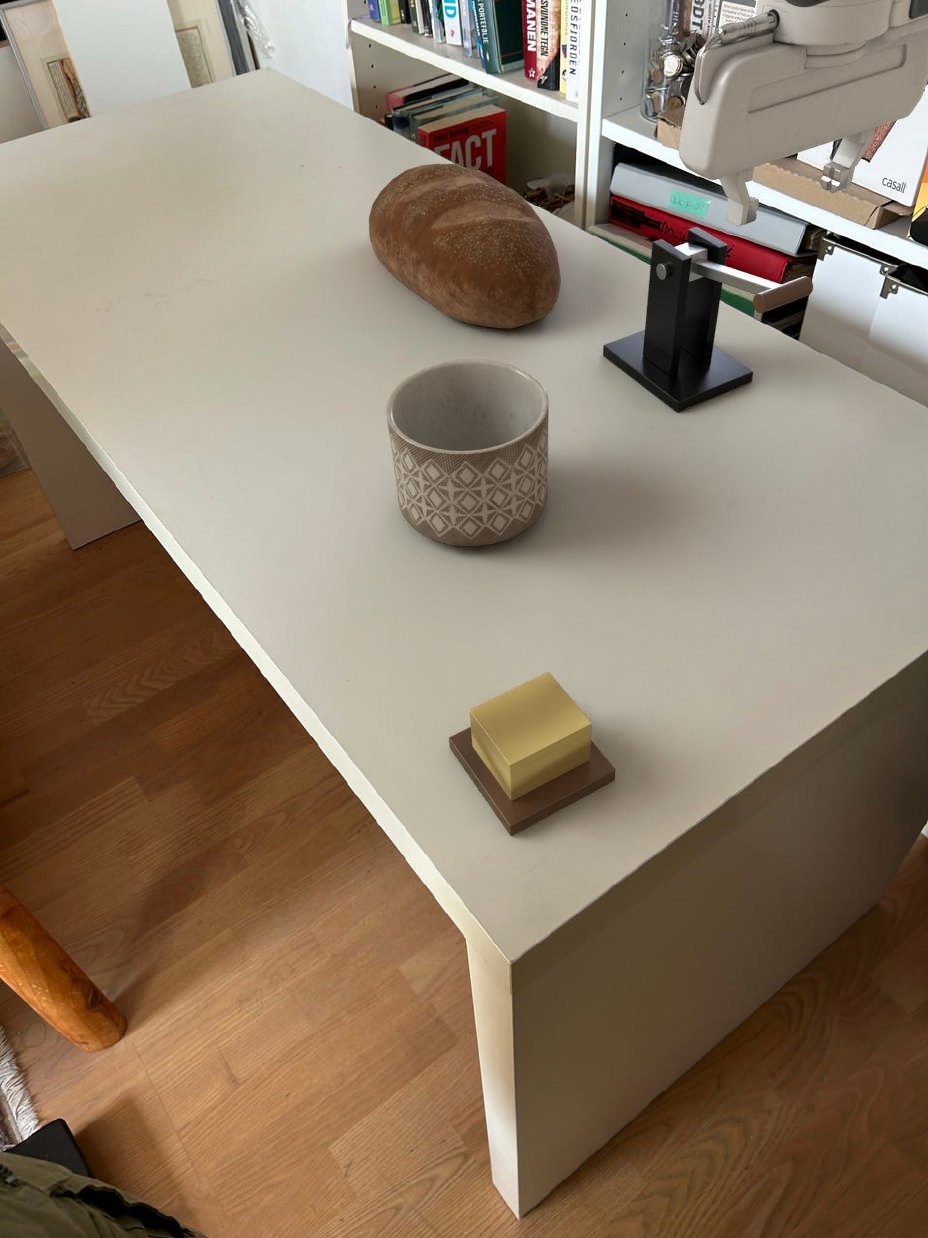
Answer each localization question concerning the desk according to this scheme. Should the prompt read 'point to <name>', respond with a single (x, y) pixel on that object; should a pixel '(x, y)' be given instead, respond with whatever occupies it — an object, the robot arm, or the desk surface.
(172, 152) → the desk surface
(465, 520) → the planter
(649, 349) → the slicer
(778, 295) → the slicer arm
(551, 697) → the butter
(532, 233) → the bread
